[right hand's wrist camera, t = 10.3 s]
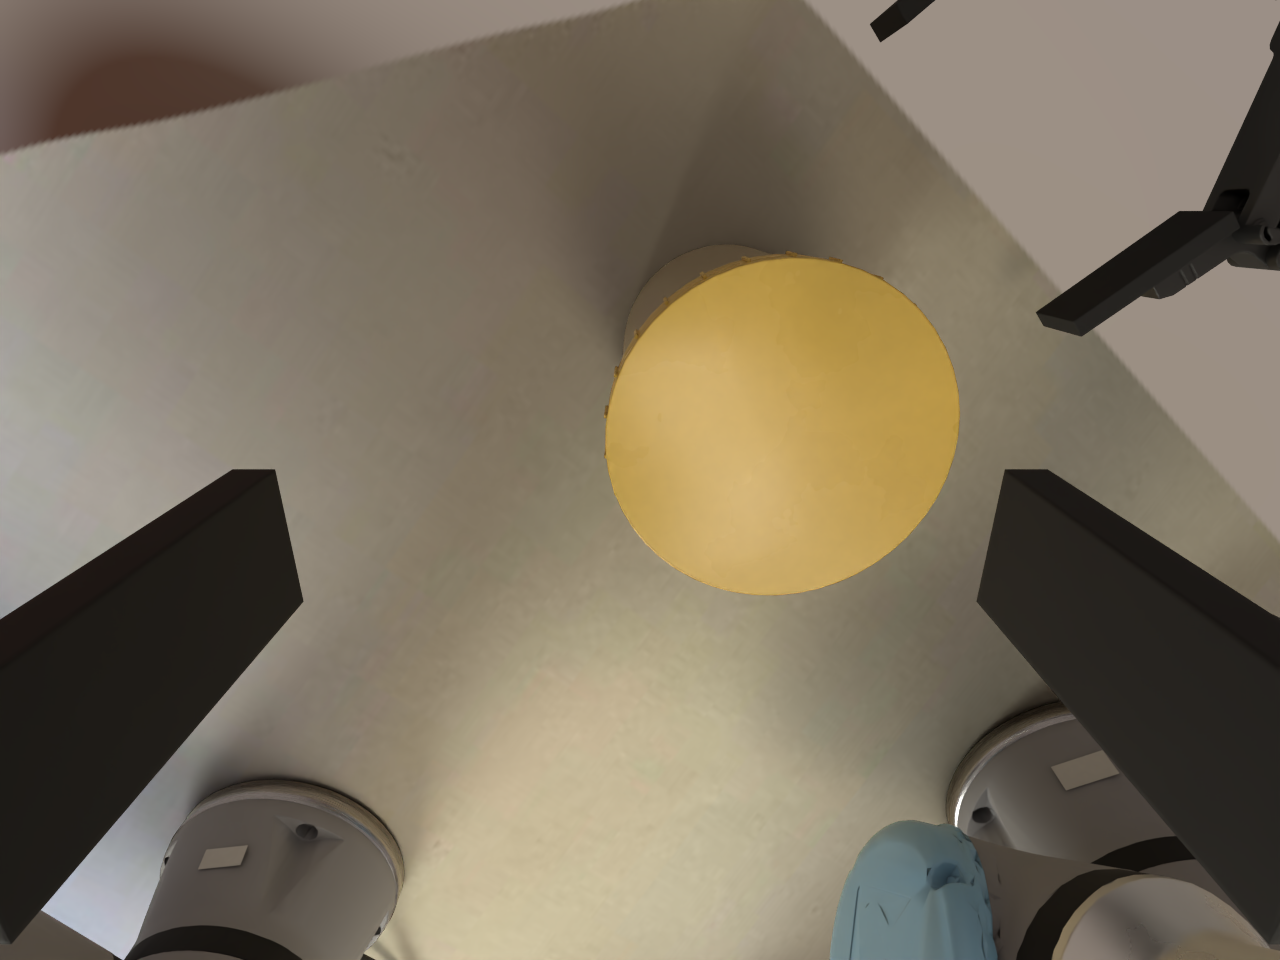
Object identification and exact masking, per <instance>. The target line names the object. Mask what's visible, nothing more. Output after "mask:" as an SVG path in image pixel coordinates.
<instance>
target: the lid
mask: <svg viewBox="0 0 1280 960" xmlns="http://www.w3.org/2000/svg"><path fill="white" fill-rule="evenodd" d="M741 258H742V260H739V261H735V262H731V263H729V264H726V265H724V266H721V267H718V268H716V269H713V270H711V271H708V272H707V273H704V272H701V273H699V274H700V276H699V277H698V278H696V279H694V280H692V281H690V282H689V283H687V284H686V285H684V286H683V287H682V288H680V289H679V290H678V291H676V292H675V293H674V294H672V295H671V296H670V297H668V298H666V297H664V298H663V301H664V302H663V303H662V304H661V305H660V306H659V307H658V308H657V309H656V310H655V311H654V312H653V313H652V314H651V315H650V316H649V317H648V319H647V320H646V321H645V322H644V324H643V325H642V326H641V327H640V329H639V330H637V329H636V330H635V331H634V338H633V339H632V341H631V343H630V344H629V346H628V348H627V349H626V351H625V353H624V355H623V358H622V360H621V362H620V365H619V367H617V366H616V367H615V371H614V377H615V378H614V382H613V385H612V389H611V392H610V399H609V406H605V413H604V418H607V420H606V432H605V454H604V457H605V458H607V466H608V472H609V476H610V479H611V483H612V486H613V490H614V494H615V496H616V497H617V500H618V502H619V504H620V507H621V509H622V511H623V513H624V514H625V516H626V518H627V519H628V521H629V523H630V524H631V526H632V527H633V529H634V530H635V531H636V533H637V534H638V535H639V536H640V537H641V539H642V540H643V541H644V542H645V544H646V545H647V546H649V547H650V548H651V549H652V550H653V551H654V552H655V553H656V554H657V555H658V556H659V557H660V558H661V559H663V560H664V561H666V562H667V563H668V564H670V565H671V566H673V567H674V568H675V569H677V570H678V571H680V572H682V573H684V574H686V575H688V576H690V577H691V578H693V579H695V580H698V581H700V582H703V583H705V584H708V585H710V586H713V587H716V588H720V589H724V590H728V591H732V592H737V593H744V594H752V595H784V594H795V593H801V592H805V591H810V590H815V589H819V588H822V587H825V586H828V585H831V584H834V583H837V582H840V581H842V580H844V579H846V578H849V577H851V576H853V575H855V574H857V573H859V572H861V571H863V570H864V569H866V568H868V567H869V566H871V565H873V564H874V563H876V562H878V561H879V560H880V559H882V558H883V557H884V556H885V555H887V554H888V553H889V552H891V551H892V550H893V549H895V548H896V547H897V546H898V545H899V544H900V543H901V542H902V541H903V540H904V539H905V538H906V537H907V536H908V535H909V534H910V533H911V532H912V531H913V530H914V529H915V527H916V526H917V525H918V524H919V523H920V522H921V520H922V519H923V518H924V517H925V515H926V514H927V512H928V511H929V509H930V508H931V506H932V505H933V503H934V502H935V500H936V498H937V497H938V495H939V492H940V490H941V488H942V486H943V484H944V482H945V480H946V478H947V475H948V473H949V470H950V467H951V464H952V461H953V458H954V454H955V449H956V444H957V440H958V433H959V419H960V408H959V393H958V387H957V382H956V378H955V373H954V369H953V366H952V363H951V361H950V358H949V355H948V353H947V350H946V348H945V346H944V344H943V342H942V340H941V339H940V337H939V335H938V333H937V331H936V330H935V328H934V327H933V325H932V324H931V323H930V321H929V320H928V319H927V318H926V316H925V315H924V314H923V312H922V311H921V310H920V309H919V308H918V307H917V305H916V304H915V303H913V302H912V301H911V300H909V299H908V298H907V297H906V296H905V295H904V294H903V293H902V292H900V291H899V290H897V289H896V288H894V287H893V286H891V285H890V284H889V283H887V282H886V281H884V280H883V279H884V278H883V277H881V276H877V275H874V274H870V273H868V272H866V271H864V270H862V269H859V268H856V267H852V266H849V265H846V264H843V263H842V261H843V260H841V259H837V258H833V257H829V260H828V259H824V258H818V257H812V256H806V255H797V253H794V252H791V251H786V254H774V255H765V256H756V257H751V258H749V257H746V256H742V257H741Z"/></svg>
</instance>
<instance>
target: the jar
mask: <svg viewBox="0 0 1280 960" xmlns="http://www.w3.org/2000/svg"><path fill="white" fill-rule="evenodd" d="M765 255H773V254H770V253H767V252H763V251H760V250H757V249H754V248H751V247H746V246H740V245H728V244H721V245H712V246H706V247H702V248H698V249H695V250H692V251H690V252H687V253H685V254H682V255H681V256H679V257H677V258H675V259H673V260H672V261H670V262H669V263H667V264H666V265H665V266H663V267H662V268H661V269H660V270H659V271H657V272H656V273H655V274H654V275H653V276H652V277H651V278H650V279H649V281H648V282H647V283H646V285H645V286H644V287H643V288H642V290H641V291H640V293H639V295H638V296H637V298H636V300H635V302H634V304H633V306H632V309H631V311H630V313H629V316H628V320H627V323H626V328H625V334H624V342H623V354H622V358H623V355H624V353H625V351H626V349H627V348H628V346H629V344H630V343H631V341H632V339H633V338H634V331H635V330H636V329H637V330H639V329H640V327H641V326H642V325H643V324H644V322H645V321H646V320H647V319H648V317H649V316H650V315H651V314H652V313H653V312H654V311H655V310H656V309H657V308H658V307H659V306H660V305H661V304H662V303H663V302H664V301H663V298H664V297H666V298H668V297H670V296H671V295H672V294H674V293H675V292H676V291H678V290H679V289H680V288H682V287H683V286H684V285H686V284H687V283H689V282H690V281H692V280H694V279H696V278H698V277H699V276H700V274H699V273H701V272H704V273H707V272H708V271H711V270H713V269H716V268H718V267H721V266H724V265H726V264H729V263H731V262H735V261H739V260H742V258H741V257H742V256H746V257H749V258H751V257H756V256H765Z"/></svg>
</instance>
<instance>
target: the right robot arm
mask: <svg viewBox="0 0 1280 960" xmlns="http://www.w3.org/2000/svg"><path fill="white" fill-rule="evenodd" d="M302 603H303V597H302V592H301V588H300V583H299V578H298V574H297V569H296V564H295V560H294V555H293V551H292V546H291V541H290V537H289V532H288V527H287V523H286V518H285V513H284V509H283V504H282V499H281V495H280V490H279V485H278V481H277V476H276V472H275V469H232V470H231V471H229V472H228V473H226V474H225V475H223V476H222V477H220V478H218V479H217V480H215V481H214V482H212V483H211V484H209V485H208V486H206V487H205V488H203V489H201V490H200V491H198V492H197V493H195V494H194V495H192V496H191V497H189V498H188V499H186V500H184V501H183V502H181V503H180V504H178V505H177V506H175V507H174V508H172V509H170V510H169V511H167V512H166V513H164V514H163V515H161V516H160V517H158V518H157V519H155V520H153V521H152V522H150V523H149V524H147V525H146V526H144V527H143V528H141V529H140V530H138V531H136V532H135V533H133V534H132V535H130V536H129V537H127V538H126V539H124V540H123V541H121V542H119V543H118V544H116V545H115V546H113V547H112V548H110V549H109V550H107V551H105V552H104V553H102V554H101V555H99V556H98V557H96V558H95V559H93V560H92V561H90V562H88V563H87V564H85V565H84V566H82V567H81V568H79V569H78V570H76V571H75V572H73V573H71V574H70V575H68V576H67V577H65V578H64V579H62V580H61V581H59V582H57V583H56V584H54V585H53V586H51V587H50V588H48V589H47V590H45V591H44V592H42V593H40V594H39V595H37V596H36V597H34V598H33V599H31V600H30V601H28V602H27V603H25V604H23V605H22V606H20V607H19V608H17V609H16V610H14V611H13V612H11V613H10V614H8V615H6V616H5V617H3V618H2V619H0V960H122V959H120V958H118V957H117V956H115V955H114V954H112V953H111V952H109V951H108V950H106V949H104V948H103V947H101V946H99V945H98V944H96V943H94V942H93V941H91V940H89V939H88V938H86V937H84V936H83V935H81V934H79V933H78V932H76V931H74V930H73V929H71V928H69V927H68V926H66V925H65V924H63V923H61V922H60V921H58V920H56V919H55V918H53V917H51V916H50V915H48V914H46V913H45V912H43V911H41V909H42V908H43V907H44V906H45V904H46V903H47V902H48V901H49V900H50V898H51V897H52V896H53V895H54V894H55V893H56V891H57V890H58V889H59V888H60V887H61V886H62V884H63V883H64V882H65V881H66V880H67V879H68V877H69V876H70V875H71V874H72V873H73V871H74V870H75V869H76V868H77V867H78V866H79V864H80V863H81V862H82V861H83V860H84V859H85V857H86V856H87V855H88V854H89V853H90V851H91V850H92V849H93V848H94V847H95V846H96V844H97V843H98V842H99V841H100V840H101V839H102V837H103V836H104V835H105V834H106V833H107V832H108V830H109V829H110V828H111V827H112V826H113V824H114V823H115V822H116V821H117V820H118V819H119V817H120V816H121V815H122V814H123V813H124V812H125V810H126V809H127V808H128V807H129V806H130V805H131V803H132V802H133V801H134V800H135V799H136V797H137V796H138V795H139V794H140V793H141V792H142V790H143V789H144V788H145V787H146V786H147V785H148V783H149V782H150V781H151V780H152V779H153V778H154V776H155V775H156V774H157V773H158V772H159V770H160V769H161V768H162V767H163V766H164V765H165V763H166V762H167V761H168V760H169V759H170V758H171V756H172V755H173V754H174V753H175V752H176V751H177V749H178V748H179V747H180V746H181V745H182V743H183V742H184V741H185V740H186V739H187V738H188V736H189V735H190V734H191V733H192V732H193V731H194V729H195V728H196V727H197V726H198V725H199V723H200V722H201V721H202V720H203V719H204V718H205V716H206V715H207V714H208V713H209V712H210V711H211V709H212V708H213V707H214V706H215V705H216V704H217V702H218V701H219V700H220V699H221V698H222V696H223V695H224V694H225V693H226V692H227V691H228V689H229V688H230V687H231V686H232V685H233V684H234V682H235V681H236V680H237V679H238V678H239V677H240V675H241V674H242V673H243V672H244V671H245V669H246V668H247V667H248V666H249V665H250V664H251V662H252V661H253V660H254V659H255V658H256V657H257V655H258V654H259V653H260V652H261V651H262V650H263V648H264V647H265V646H266V645H267V644H268V642H269V641H270V640H271V639H272V638H273V637H274V635H275V634H276V633H277V632H278V631H279V630H280V628H281V627H282V626H283V625H284V624H285V623H286V621H287V620H288V619H289V618H290V617H291V615H292V614H293V613H294V612H295V611H296V610H297V608H298V607H299V606H300V605H301V604H302ZM977 603H978V604H979V605H980V606H981V607H982V608H983V610H984V611H985V612H986V613H987V614H988V615H989V617H990V618H991V619H992V620H993V621H994V623H995V624H996V625H997V626H998V627H999V628H1000V630H1001V631H1002V632H1003V633H1004V634H1005V635H1006V637H1007V638H1008V639H1009V640H1010V641H1011V642H1012V644H1013V645H1014V646H1015V647H1016V648H1017V650H1018V651H1019V652H1020V653H1021V654H1022V655H1023V657H1024V658H1025V659H1026V660H1027V661H1028V662H1029V664H1030V665H1031V666H1032V667H1033V668H1034V669H1035V671H1036V672H1037V673H1038V674H1039V675H1040V677H1041V678H1042V679H1043V680H1044V681H1045V682H1046V684H1047V685H1048V686H1049V687H1050V688H1051V689H1052V691H1053V692H1054V693H1055V694H1056V695H1057V696H1058V698H1059V699H1060V700H1061V701H1062V702H1063V704H1064V705H1065V706H1066V707H1067V708H1068V709H1069V711H1070V712H1071V713H1072V714H1073V715H1074V716H1075V718H1076V719H1077V720H1078V721H1079V722H1080V723H1081V725H1082V726H1083V727H1084V728H1085V729H1086V731H1087V732H1088V733H1089V734H1090V735H1091V736H1092V738H1093V739H1094V740H1095V741H1096V742H1097V743H1098V745H1099V746H1100V747H1101V748H1102V749H1103V751H1104V752H1105V753H1106V754H1107V755H1108V756H1109V758H1110V759H1111V760H1112V761H1113V762H1114V763H1115V765H1116V766H1117V767H1118V768H1119V769H1120V770H1121V772H1122V773H1123V774H1124V775H1125V776H1126V778H1127V779H1128V780H1129V781H1130V782H1131V783H1132V785H1133V786H1134V787H1135V788H1136V789H1137V790H1138V792H1139V793H1140V794H1141V795H1142V796H1143V797H1144V799H1145V800H1146V801H1147V802H1148V803H1149V805H1150V806H1151V807H1152V808H1153V809H1154V810H1155V812H1156V813H1157V814H1158V815H1159V816H1160V817H1161V819H1162V820H1163V821H1164V822H1165V823H1166V824H1167V826H1168V827H1169V828H1170V829H1171V830H1172V832H1173V833H1174V834H1175V835H1176V836H1177V837H1178V839H1179V840H1180V841H1181V842H1182V843H1183V844H1184V846H1185V847H1186V848H1187V849H1188V850H1189V851H1190V853H1191V854H1192V855H1193V856H1194V857H1195V859H1196V860H1197V861H1198V862H1199V863H1200V864H1201V866H1202V867H1203V868H1204V869H1205V870H1206V871H1207V873H1208V874H1209V875H1210V876H1211V877H1212V879H1213V880H1214V881H1215V882H1216V883H1217V884H1218V886H1219V887H1220V888H1221V889H1222V890H1223V891H1224V893H1225V894H1226V895H1227V896H1228V897H1229V898H1230V900H1231V901H1232V902H1233V903H1234V904H1235V906H1236V907H1237V908H1238V909H1239V910H1240V911H1241V913H1242V914H1243V915H1244V916H1245V917H1246V918H1247V920H1248V921H1249V922H1250V923H1251V924H1252V925H1253V927H1254V928H1255V929H1256V930H1257V931H1258V933H1259V934H1260V935H1261V936H1262V937H1263V938H1264V940H1265V941H1266V942H1267V943H1268V944H1269V945H1280V618H1279V617H1277V616H1275V615H1272V614H1270V613H1269V612H1267V611H1266V610H1264V609H1263V608H1261V607H1260V606H1258V605H1257V604H1255V603H1253V602H1252V601H1250V600H1249V599H1247V598H1246V597H1244V596H1243V595H1241V594H1240V593H1238V592H1236V591H1235V590H1233V589H1232V588H1230V587H1229V586H1227V585H1226V584H1224V583H1223V582H1221V581H1219V580H1218V579H1216V578H1215V577H1213V576H1212V575H1210V574H1209V573H1207V572H1205V571H1204V570H1202V569H1201V568H1199V567H1198V566H1196V565H1195V564H1193V563H1192V562H1190V561H1188V560H1187V559H1185V558H1184V557H1182V556H1181V555H1179V554H1178V553H1176V552H1175V551H1173V550H1171V549H1170V548H1168V547H1167V546H1165V545H1164V544H1162V543H1161V542H1159V541H1157V540H1156V539H1154V538H1153V537H1151V536H1150V535H1148V534H1147V533H1145V532H1144V531H1142V530H1140V529H1139V528H1137V527H1136V526H1134V525H1133V524H1131V523H1130V522H1128V521H1127V520H1125V519H1123V518H1122V517H1120V516H1119V515H1117V514H1116V513H1114V512H1113V511H1111V510H1110V509H1108V508H1106V507H1105V506H1103V505H1102V504H1100V503H1099V502H1097V501H1096V500H1094V499H1092V498H1091V497H1089V496H1088V495H1086V494H1085V493H1083V492H1082V491H1080V490H1079V489H1077V488H1075V487H1074V486H1072V485H1071V484H1069V483H1068V482H1066V481H1065V480H1063V479H1062V478H1060V477H1058V476H1057V475H1055V474H1054V473H1052V472H1051V471H1049V470H1048V469H1005V472H1004V476H1003V481H1002V485H1001V490H1000V495H999V499H998V504H997V509H996V513H995V518H994V523H993V527H992V532H991V537H990V541H989V546H988V551H987V555H986V560H985V564H984V569H983V574H982V578H981V583H980V588H979V592H978V597H977ZM403 881H404V865H403V860H402V856H401V853H400V851H399V848H398V846H397V844H396V842H395V840H394V839H393V837H392V836H391V834H390V833H389V831H388V830H387V829H386V828H385V827H384V825H383V824H382V823H381V822H380V821H379V820H378V819H377V818H376V817H375V816H373V815H372V814H371V813H370V812H369V811H367V810H366V809H364V808H363V807H362V806H360V805H359V804H357V803H355V802H354V801H352V800H350V799H348V798H346V797H344V796H342V795H340V794H338V793H335V792H333V791H330V790H328V789H325V788H322V787H319V786H315V785H311V784H307V783H302V782H296V781H288V780H257V781H249V782H244V783H239V784H236V785H232V786H229V787H226V788H224V789H221V790H219V791H217V792H215V793H213V794H212V795H210V796H208V797H207V798H206V799H204V800H203V801H202V802H200V803H199V804H198V805H197V806H196V807H195V808H194V809H193V811H192V812H191V813H190V814H189V816H188V817H187V818H186V820H185V821H184V822H183V824H182V825H181V826H180V828H179V829H178V830H177V832H176V833H175V835H174V836H173V838H172V840H171V842H170V844H169V847H168V849H167V851H166V853H165V856H164V859H163V863H162V866H161V871H160V880H159V883H158V885H157V888H156V890H155V893H154V895H153V898H152V901H151V903H150V906H149V909H148V911H147V914H146V916H145V919H144V922H143V924H142V927H141V930H140V933H139V936H138V938H137V941H136V943H135V944H134V946H133V947H132V949H131V951H130V952H129V954H128V955H127V956H126V958H125V959H124V960H375V959H373V958H371V957H369V956H367V955H365V954H364V952H365V951H366V950H367V949H368V948H370V947H371V946H372V945H373V944H374V943H375V941H376V940H377V939H378V938H379V936H380V935H381V933H382V932H383V931H384V929H385V927H386V926H387V924H388V922H389V921H390V919H391V917H392V915H393V913H394V910H395V907H396V904H397V901H398V898H399V895H400V892H401V889H402V886H403Z"/></svg>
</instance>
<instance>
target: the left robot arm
mask: <svg viewBox="0 0 1280 960" xmlns="http://www.w3.org/2000/svg"><path fill="white" fill-rule="evenodd" d="M934 1H935V0H897V1H896V2H895V3H894V4H893V5H892V6H891V7H889V8H888V9H887V10H886V11H885V12H884V13H882V14H881V15H880V16H879V17H878V18H877V19H875V20H874V21H873V22H872V23H871V24H870V25H871V27H872V29H873V31H874V32H875V34H876V36H877V37H878V39H879V41H880V42H882V41H883V40H885V39H886V38H887V37H889V36H890V35H892V34H893V33H895V32H896V31H898V30H899V29H900V28H902V27H903V26H905V25H906V24H908V23H909V22H910V21H911V20H912V19H914V18H915V17H916V16H917V15H918V14H919V13H921V12H922V11H923V10H924V9H925V8H926V7H928V6H929V5H930V4H931V3H932V2H934ZM1270 50H1271V51H1272V52H1273V53H1274V56H1273V59H1272V62H1271V64H1270V66H1269V68H1268V70H1267V72H1266V74H1265V77H1264V79H1263V81H1262V83H1261V85H1260V88H1259V90H1258V92H1257V94H1256V96H1255V98H1254V101H1253V103H1252V105H1251V107H1250V109H1249V112H1248V114H1247V116H1246V118H1245V120H1244V122H1243V125H1242V127H1241V129H1240V131H1239V133H1238V135H1237V137H1236V140H1235V142H1234V144H1233V146H1232V148H1231V151H1230V153H1229V155H1228V157H1227V159H1226V162H1225V164H1224V166H1223V168H1222V170H1221V172H1220V174H1219V177H1218V179H1217V181H1216V183H1215V185H1214V187H1213V190H1212V192H1211V194H1210V196H1209V198H1208V200H1207V203H1206V205H1205V207H1204V209H1203V211H1179V212H1177V213H1176V214H1175V215H1173V216H1172V217H1170V218H1169V219H1168V220H1166V221H1165V222H1163V223H1162V224H1161V225H1159V226H1158V227H1156V228H1155V229H1153V230H1152V231H1151V232H1149V233H1148V234H1146V235H1145V236H1143V237H1142V238H1141V239H1139V240H1138V241H1136V242H1135V243H1133V244H1132V245H1131V246H1129V247H1128V248H1126V249H1125V250H1124V251H1122V252H1121V253H1119V254H1118V255H1116V256H1115V257H1114V258H1112V259H1111V260H1109V261H1108V262H1107V263H1105V264H1104V265H1102V266H1101V267H1100V268H1098V269H1097V270H1095V271H1094V272H1092V273H1091V274H1089V275H1088V276H1087V277H1085V278H1084V279H1082V280H1081V281H1080V282H1078V283H1077V284H1075V285H1074V286H1072V287H1071V288H1070V289H1068V290H1067V291H1065V292H1064V293H1063V294H1061V295H1060V296H1058V297H1057V298H1055V299H1054V300H1053V301H1051V302H1050V303H1048V304H1047V305H1045V306H1044V307H1043V308H1041V309H1040V310H1038V311H1037V312H1036V313H1037V315H1038V317H1039V319H1040V320H1041V322H1042V324H1043V326H1046V327H1049V328H1053V329H1056V330H1060V331H1064V332H1067V333H1071V334H1074V335H1078V336H1083V335H1084V334H1086V333H1087V332H1089V331H1090V330H1092V329H1093V328H1095V327H1096V326H1098V325H1099V324H1101V323H1102V322H1103V321H1105V320H1106V319H1108V318H1109V317H1111V316H1112V315H1114V314H1115V313H1117V312H1118V311H1120V310H1121V309H1122V308H1124V307H1125V306H1127V305H1128V304H1130V303H1131V302H1133V301H1134V300H1136V299H1137V298H1139V297H1140V296H1143V297H1149V298H1155V299H1162V298H1165V297H1169V296H1172V295H1174V294H1176V293H1177V292H1179V291H1180V290H1182V289H1183V288H1185V287H1186V285H1189V284H1190V283H1192V282H1193V281H1195V280H1196V279H1197V278H1199V277H1201V276H1202V275H1204V274H1205V273H1207V272H1208V271H1210V270H1211V269H1213V268H1214V267H1216V266H1217V265H1218V264H1220V263H1221V262H1223V261H1224V260H1226V259H1227V261H1228V263H1229V264H1230V265H1232V266H1235V267H1245V268H1256V269H1267V270H1278V271H1280V22H1279V24H1278V26H1277V28H1276V31H1275V33H1274V35H1273V37H1272V40H1271V43H1270ZM946 812H947V819H948V823H949V824H940V825H933V824H928V823H924V822H920V821H914V820H908V821H899V822H895V823H893V824H890V825H888V826H886V827H884V828H883V829H881V830H880V831H879V832H877V833H876V834H875V835H874V836H873V837H872V838H871V839H870V840H869V841H868V842H867V844H866V845H865V846H864V847H863V849H862V850H861V852H860V853H859V855H858V858H857V860H856V863H855V865H854V867H853V869H852V870H851V871H850V872H849V875H848V877H847V879H846V882H845V885H844V888H843V891H842V894H841V897H840V900H839V904H838V908H837V913H836V917H835V922H834V928H833V934H832V941H831V950H830V960H1280V945H1269V944H1268V943H1267V942H1266V941H1265V940H1264V938H1263V937H1262V936H1261V935H1260V934H1259V933H1258V931H1257V930H1256V929H1255V928H1254V927H1253V925H1252V924H1251V923H1250V922H1249V921H1248V920H1247V918H1246V917H1245V916H1244V915H1243V914H1242V913H1241V911H1240V910H1239V909H1238V908H1237V907H1236V906H1235V904H1234V903H1233V902H1232V901H1231V900H1230V898H1229V897H1228V896H1227V895H1226V894H1225V893H1224V891H1223V890H1222V889H1221V888H1220V887H1219V886H1218V884H1217V883H1216V882H1215V881H1214V880H1213V879H1212V877H1211V876H1210V875H1209V874H1208V873H1207V871H1206V870H1205V869H1204V868H1203V867H1202V866H1201V864H1200V863H1199V862H1198V861H1197V860H1196V859H1195V857H1194V856H1193V855H1192V854H1191V853H1190V851H1189V850H1188V849H1187V848H1186V847H1185V846H1184V844H1183V843H1182V842H1181V841H1180V840H1179V839H1178V837H1177V836H1176V835H1175V834H1174V833H1173V832H1172V830H1171V829H1170V828H1169V827H1168V826H1167V824H1166V823H1165V822H1164V821H1163V820H1162V819H1161V817H1160V816H1159V815H1158V814H1157V813H1156V812H1155V810H1154V809H1153V808H1152V807H1151V806H1150V805H1149V803H1148V802H1147V801H1146V800H1145V799H1144V797H1143V796H1142V795H1141V794H1140V793H1139V792H1138V790H1137V789H1136V788H1135V787H1134V786H1133V785H1132V783H1131V782H1130V781H1129V780H1128V779H1127V778H1126V776H1125V775H1124V774H1123V773H1122V772H1121V770H1120V769H1119V768H1118V767H1117V766H1116V765H1115V763H1114V762H1113V761H1112V760H1111V759H1110V758H1109V756H1108V755H1107V754H1106V753H1105V752H1104V751H1103V749H1102V748H1101V747H1100V746H1099V745H1098V743H1097V742H1096V741H1095V740H1094V739H1093V738H1092V736H1091V735H1090V734H1089V733H1088V732H1087V731H1086V729H1085V728H1084V727H1083V726H1082V725H1081V723H1080V722H1079V721H1078V720H1077V719H1076V718H1075V716H1074V715H1073V714H1072V713H1071V712H1070V711H1069V709H1068V708H1067V707H1066V706H1065V705H1064V704H1063V702H1062V701H1061V702H1056V703H1052V704H1048V705H1044V706H1041V707H1038V708H1035V709H1032V710H1030V711H1027V712H1025V713H1023V714H1020V715H1018V716H1016V717H1014V718H1012V719H1010V720H1008V721H1007V722H1005V723H1003V724H1002V725H1000V726H998V727H997V728H996V729H994V730H993V731H991V732H990V733H989V734H987V735H986V736H985V737H984V738H983V739H981V740H980V741H979V742H978V743H977V744H976V745H975V746H974V747H973V748H972V749H971V750H970V751H969V753H968V754H967V755H966V756H965V757H964V759H963V760H962V762H961V763H960V765H959V766H958V768H957V770H956V772H955V773H954V775H953V778H952V780H951V783H950V786H949V789H948V793H947V800H946Z"/></svg>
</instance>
